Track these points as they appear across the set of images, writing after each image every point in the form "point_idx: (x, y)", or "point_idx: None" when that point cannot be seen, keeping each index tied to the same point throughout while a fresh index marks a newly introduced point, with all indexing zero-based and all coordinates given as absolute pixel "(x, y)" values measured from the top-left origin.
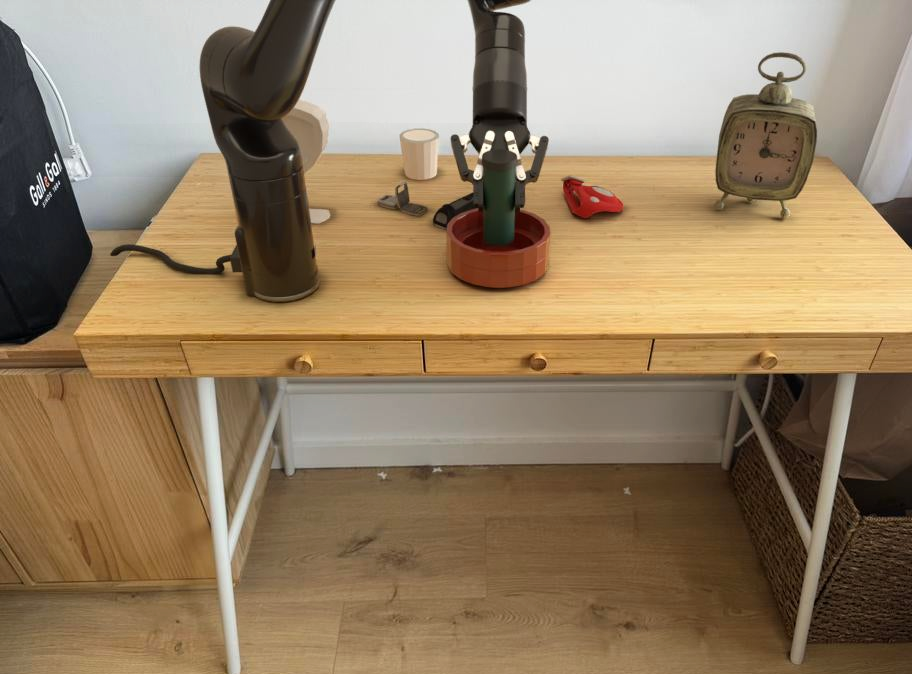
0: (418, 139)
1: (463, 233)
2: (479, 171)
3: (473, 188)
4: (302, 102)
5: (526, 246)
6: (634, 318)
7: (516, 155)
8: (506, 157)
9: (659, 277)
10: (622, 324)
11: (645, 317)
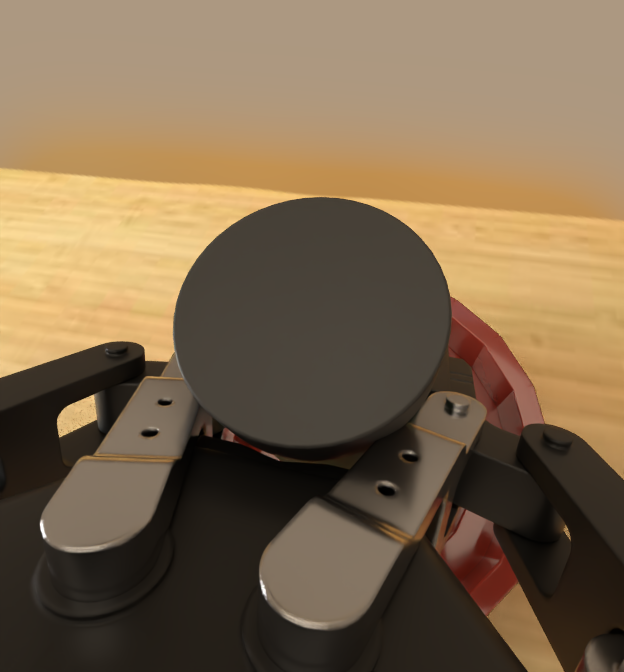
0: None
1: (460, 567)
2: (445, 417)
3: (474, 395)
4: None
5: None
6: (138, 209)
7: (180, 297)
8: (263, 273)
9: (3, 337)
10: (169, 195)
11: (118, 210)
